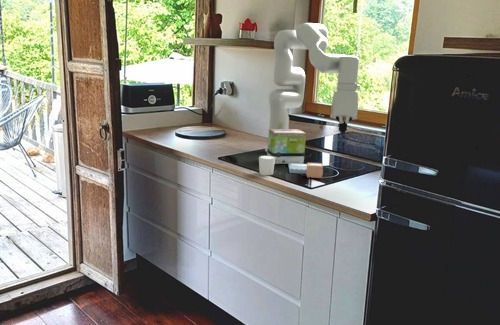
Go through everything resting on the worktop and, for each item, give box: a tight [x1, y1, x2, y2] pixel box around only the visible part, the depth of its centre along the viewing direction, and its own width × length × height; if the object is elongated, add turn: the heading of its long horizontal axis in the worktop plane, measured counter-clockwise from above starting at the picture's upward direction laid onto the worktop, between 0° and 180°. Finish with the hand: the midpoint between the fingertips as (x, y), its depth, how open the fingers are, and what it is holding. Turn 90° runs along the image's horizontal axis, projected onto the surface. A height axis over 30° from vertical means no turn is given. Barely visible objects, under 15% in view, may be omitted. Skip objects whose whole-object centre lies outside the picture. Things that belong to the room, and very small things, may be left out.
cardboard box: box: [305, 162, 324, 179], centre depth 191 cm, size 5×6×5 cm
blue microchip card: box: [287, 163, 324, 176], centre depth 200 cm, size 11×14×2 cm
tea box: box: [266, 128, 307, 165], centre depth 212 cm, size 15×10×15 cm
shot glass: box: [258, 155, 276, 176], centre depth 192 cm, size 7×7×7 cm
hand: (342, 132), depth 187 cm, fingers closed
